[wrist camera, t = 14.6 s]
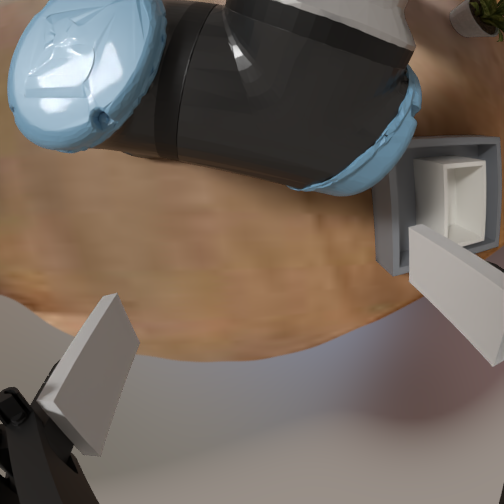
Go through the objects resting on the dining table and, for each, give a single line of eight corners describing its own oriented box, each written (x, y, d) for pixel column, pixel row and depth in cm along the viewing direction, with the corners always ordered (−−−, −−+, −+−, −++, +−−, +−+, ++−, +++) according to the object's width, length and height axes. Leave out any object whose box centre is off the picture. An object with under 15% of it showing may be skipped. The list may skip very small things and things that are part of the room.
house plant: (500, 33, 29) (562, 22, 14) (484, 81, 33) (558, 78, 18) (445, -23, 26) (503, -53, 11) (424, 21, 30) (494, -9, 15)
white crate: (412, 158, 36) (442, 164, 30) (454, 155, 36) (485, 160, 30) (416, 234, 40) (443, 251, 34) (456, 226, 40) (484, 240, 34)
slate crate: (366, 140, 36) (385, 141, 31) (476, 134, 36) (499, 137, 31) (375, 260, 42) (392, 276, 37) (477, 235, 42) (498, 246, 37)
